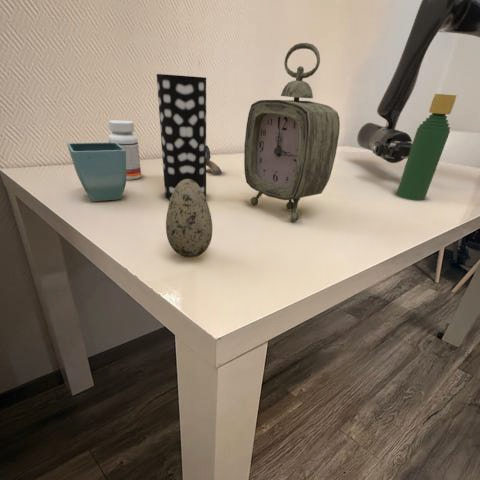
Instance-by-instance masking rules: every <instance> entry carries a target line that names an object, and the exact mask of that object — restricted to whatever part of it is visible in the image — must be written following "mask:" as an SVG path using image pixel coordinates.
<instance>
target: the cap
mask: <svg viewBox="0 0 480 480" xmlns="http://www.w3.org/2000/svg"><path fill="white" fill-rule="evenodd" d="M456 99H457V95H456V94H444V93H442V94H441V93H435V94H434V96H433V98H432V100H431V104H430V107H429V110H428V113H430V114H432V113H437V114H446V115H451V114H452V110H453V108H454V106H455V102H456Z"/></svg>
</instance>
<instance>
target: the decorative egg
mask: <svg viewBox="0 0 480 480" xmlns="http://www.w3.org/2000/svg"><path fill="white" fill-rule="evenodd" d="M210 210H211V209H210V207H209V204H208V200H207V197H206V198H205V195H204V193H203V191H202V190H201V188H200V187H199V185H198V184H197V183H196V182H195V181H193V180H191V179H184V180H182V181H181V182H179V183H178V185H177V186H176V188H175V189H174V191H173V194H172V196H171V199H170V200H169V202H168V207H167V210H166V217H165V233H166V237H167V241H168V243H169V245H170V248H172V250H173V251H174V252H175V253H176V254H177V255H179V256H180V257H183V258H185V259H195V258H198V257H201V256H202V255H203V254H204V253H205V252H206V251H207V250H208V249H209V246H210V245H211V242H212V237H213V219H212V214H211V211H210Z"/></svg>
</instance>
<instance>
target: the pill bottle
mask: <svg viewBox="0 0 480 480" xmlns="http://www.w3.org/2000/svg"><path fill="white" fill-rule="evenodd" d="M108 128H109V131H110V132H111V133H110V134H109V136H108V143H118V144H119V145H120V146H121V147H123V148H124V149H125V150H126V181H132V180H138V179H140V178H141V177H142V171H141V169H142V168H141V160H140V151H139V150H140V149H139V142H138V141H139V139H138V137H137V136H136V135H135V134H133V132H135V124H134V122H133V121H131V120H121V119H119V120H118V119H117V120H116V119H112V120H111V119H110V120H108Z"/></svg>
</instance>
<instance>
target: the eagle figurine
mask: <svg viewBox="0 0 480 480" xmlns="http://www.w3.org/2000/svg"><path fill="white" fill-rule="evenodd" d="M206 167H208V168H209V169H210V172H211V173H212V174H213V175H217V176H219V175H220V176H221V175H222V173H223V171H222V169H221V168H220V167H219V166H218V165H217V164H216V163H215V162H214V161H213V160H211V150H210V148H209V146H208V145H207V144H206Z"/></svg>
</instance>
